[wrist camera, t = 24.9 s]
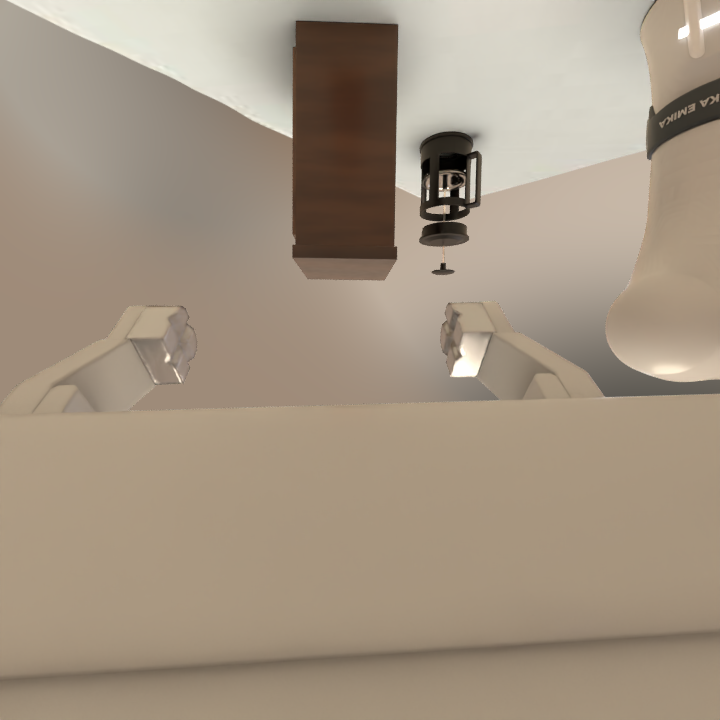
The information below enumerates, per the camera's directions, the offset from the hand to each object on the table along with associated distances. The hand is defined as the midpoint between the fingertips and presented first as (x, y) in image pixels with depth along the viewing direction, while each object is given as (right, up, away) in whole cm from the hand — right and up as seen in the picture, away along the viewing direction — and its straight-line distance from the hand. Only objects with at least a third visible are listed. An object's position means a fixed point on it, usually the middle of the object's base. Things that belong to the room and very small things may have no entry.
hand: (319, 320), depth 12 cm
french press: (+17, +38, +54) cm, 68 cm away
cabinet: (0, +37, +36) cm, 51 cm away
